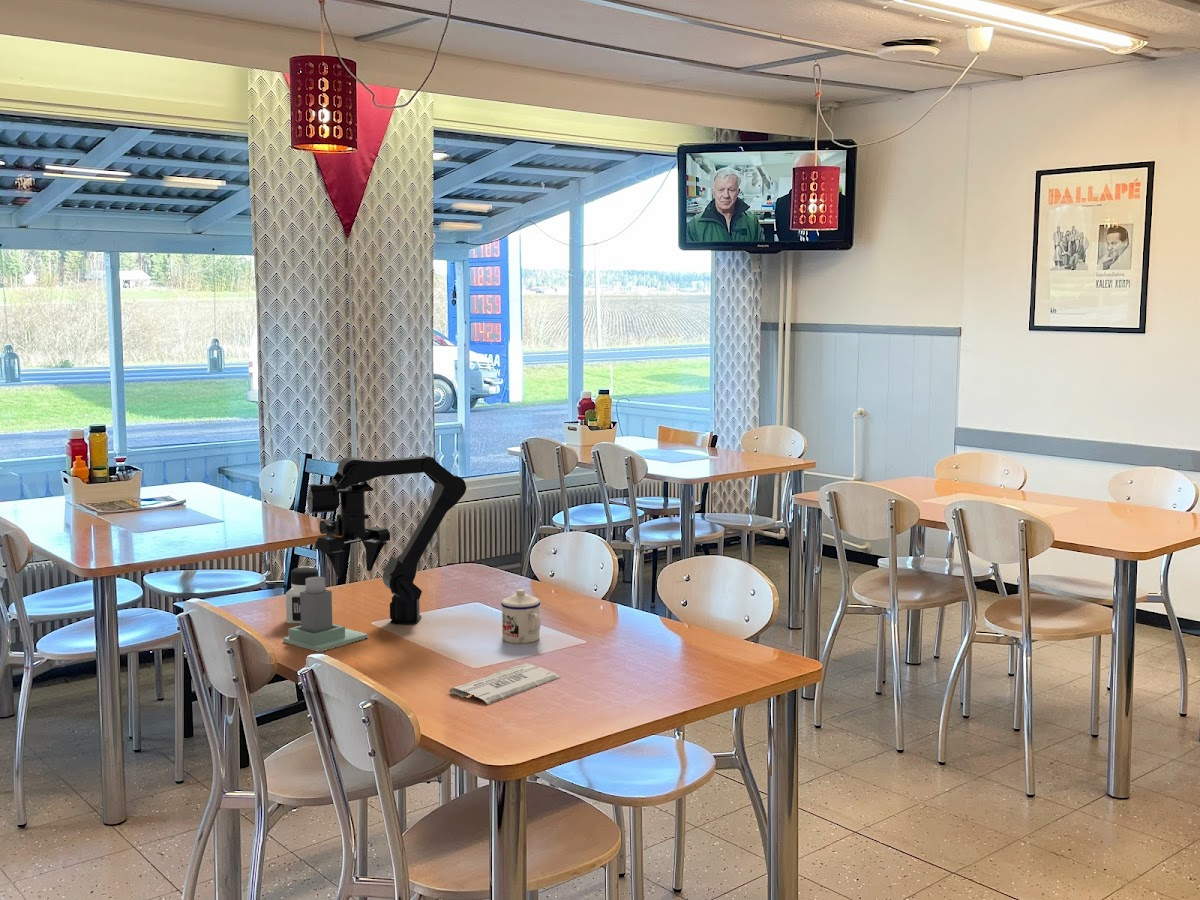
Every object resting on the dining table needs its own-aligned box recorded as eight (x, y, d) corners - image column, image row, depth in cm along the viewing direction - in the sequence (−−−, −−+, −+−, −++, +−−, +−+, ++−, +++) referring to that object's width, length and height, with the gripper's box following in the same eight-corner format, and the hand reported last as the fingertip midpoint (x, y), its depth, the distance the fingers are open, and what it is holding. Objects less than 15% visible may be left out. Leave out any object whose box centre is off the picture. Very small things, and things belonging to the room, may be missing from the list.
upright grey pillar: (318, 634, 271) (317, 575, 269) (332, 637, 268) (331, 578, 266) (301, 638, 267) (299, 579, 265) (315, 642, 264) (313, 582, 262)
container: (317, 623, 283) (316, 571, 282) (286, 623, 283) (284, 571, 282) (325, 615, 291) (324, 564, 289) (294, 615, 291) (293, 564, 289)
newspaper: (517, 669, 250) (518, 658, 250) (559, 686, 243) (560, 675, 242) (439, 695, 233) (440, 683, 232) (482, 714, 225) (483, 702, 225)
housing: (331, 628, 279) (331, 614, 278) (367, 638, 271) (367, 623, 270) (283, 641, 268) (283, 627, 267) (319, 652, 260) (319, 636, 259)
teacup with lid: (493, 637, 272) (493, 589, 270) (526, 631, 277) (525, 583, 276) (522, 649, 262) (522, 599, 261) (555, 642, 268) (555, 593, 266)
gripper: (360, 501, 289) (361, 563, 291) (299, 512, 275) (301, 576, 276) (391, 506, 282) (392, 569, 284) (330, 517, 268) (332, 583, 270)
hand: (354, 574), depth 279 cm, fingers open, 9 cm apart
